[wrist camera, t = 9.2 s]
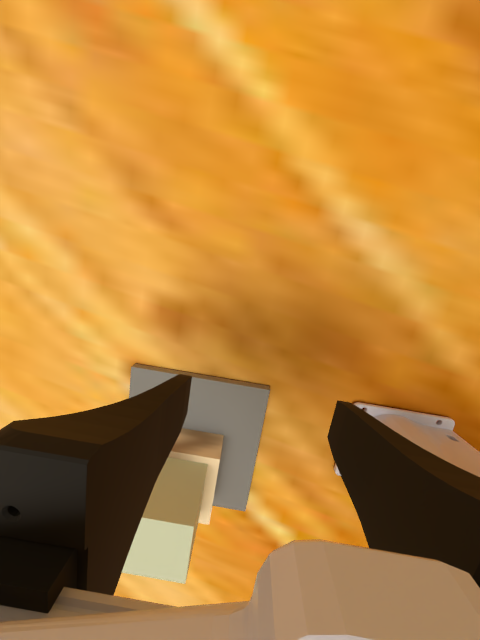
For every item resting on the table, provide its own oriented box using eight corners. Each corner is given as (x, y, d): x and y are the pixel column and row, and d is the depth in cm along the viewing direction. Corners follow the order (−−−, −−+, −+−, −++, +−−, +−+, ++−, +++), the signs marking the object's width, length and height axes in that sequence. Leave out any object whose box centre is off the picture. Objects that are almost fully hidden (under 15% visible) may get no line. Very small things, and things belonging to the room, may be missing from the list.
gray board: (269, 385, 22) (269, 390, 22) (245, 503, 25) (245, 511, 24) (135, 363, 22) (131, 366, 22) (126, 483, 25) (123, 490, 25)
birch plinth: (223, 435, 23) (220, 459, 20) (214, 493, 24) (209, 524, 21) (153, 423, 23) (138, 445, 20) (147, 482, 24) (133, 511, 21)
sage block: (207, 464, 20) (194, 526, 15) (200, 510, 21) (185, 583, 16) (150, 453, 20) (117, 513, 15) (145, 501, 21) (113, 571, 16)
